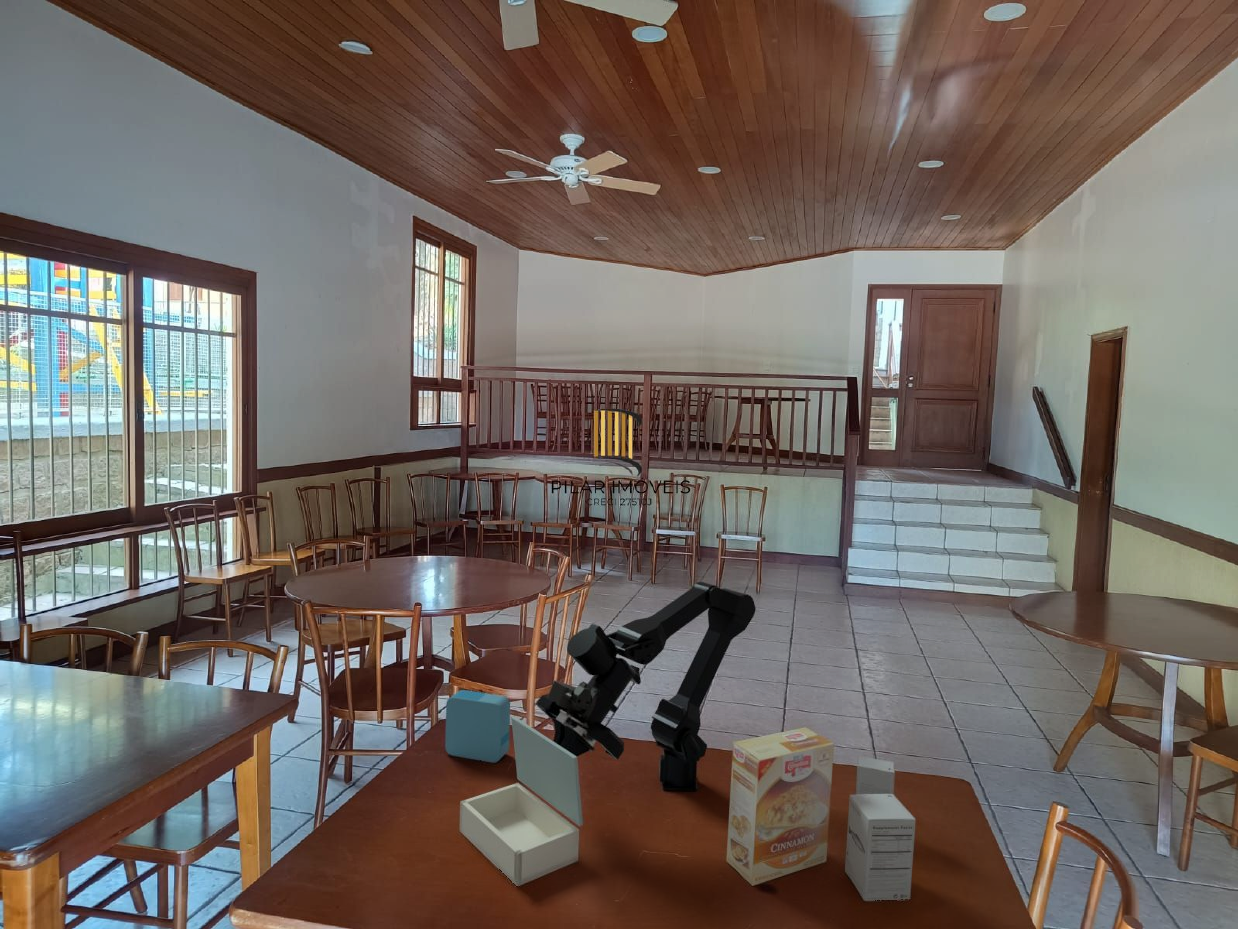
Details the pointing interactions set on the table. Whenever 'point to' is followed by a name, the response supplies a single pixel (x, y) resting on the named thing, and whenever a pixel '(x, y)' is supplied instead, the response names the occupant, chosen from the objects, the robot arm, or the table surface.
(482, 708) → the blue rounded square block
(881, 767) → the skincare box
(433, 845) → the table surface
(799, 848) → the coffeecake box
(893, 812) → the supplement box
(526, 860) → the cream box
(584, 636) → the robot arm
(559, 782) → the box lid
